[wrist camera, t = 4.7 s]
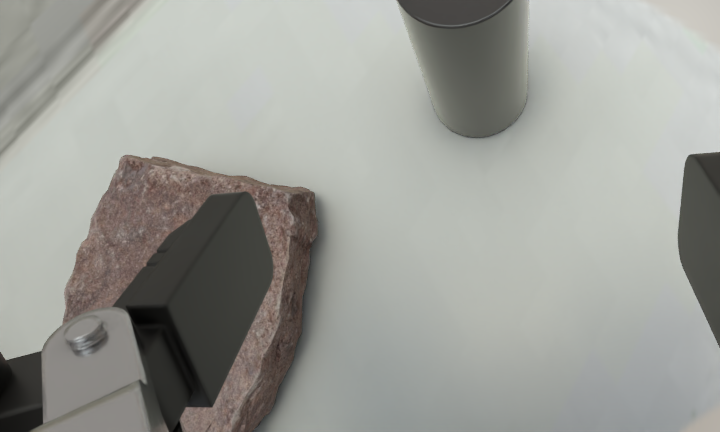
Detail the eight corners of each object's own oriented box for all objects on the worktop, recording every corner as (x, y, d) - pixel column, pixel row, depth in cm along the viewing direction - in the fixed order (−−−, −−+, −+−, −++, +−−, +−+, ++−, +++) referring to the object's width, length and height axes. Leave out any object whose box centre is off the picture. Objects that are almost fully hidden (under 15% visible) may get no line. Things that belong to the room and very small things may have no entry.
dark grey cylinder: (543, 70, 25) (555, -75, 17) (500, 152, 25) (489, 46, 16) (459, 39, 27) (429, -110, 18) (416, 116, 26) (366, 2, 18)
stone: (270, 476, 24) (213, 502, 20) (93, 412, 27) (10, 422, 23) (342, 200, 26) (305, 168, 22) (171, 166, 29) (108, 132, 25)
